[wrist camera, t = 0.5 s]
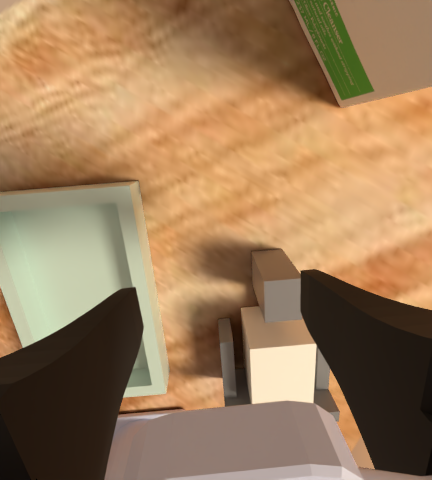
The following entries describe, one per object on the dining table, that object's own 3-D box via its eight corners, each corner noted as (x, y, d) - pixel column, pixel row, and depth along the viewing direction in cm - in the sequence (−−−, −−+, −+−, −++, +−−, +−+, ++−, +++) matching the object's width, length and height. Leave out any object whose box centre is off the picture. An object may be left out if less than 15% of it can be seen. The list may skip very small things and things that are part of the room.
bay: (314, 370, 26) (338, 421, 21) (223, 378, 26) (227, 431, 21) (317, 310, 24) (345, 351, 19) (217, 318, 24) (221, 362, 19)
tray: (169, 370, 25) (166, 393, 23) (59, 379, 25) (43, 404, 23) (138, 180, 20) (129, 185, 17) (-4, 192, 20) (-33, 198, 17)
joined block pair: (293, 360, 25) (312, 409, 21) (243, 364, 25) (252, 415, 21) (295, 247, 22) (320, 276, 17) (237, 252, 22) (247, 283, 17)
